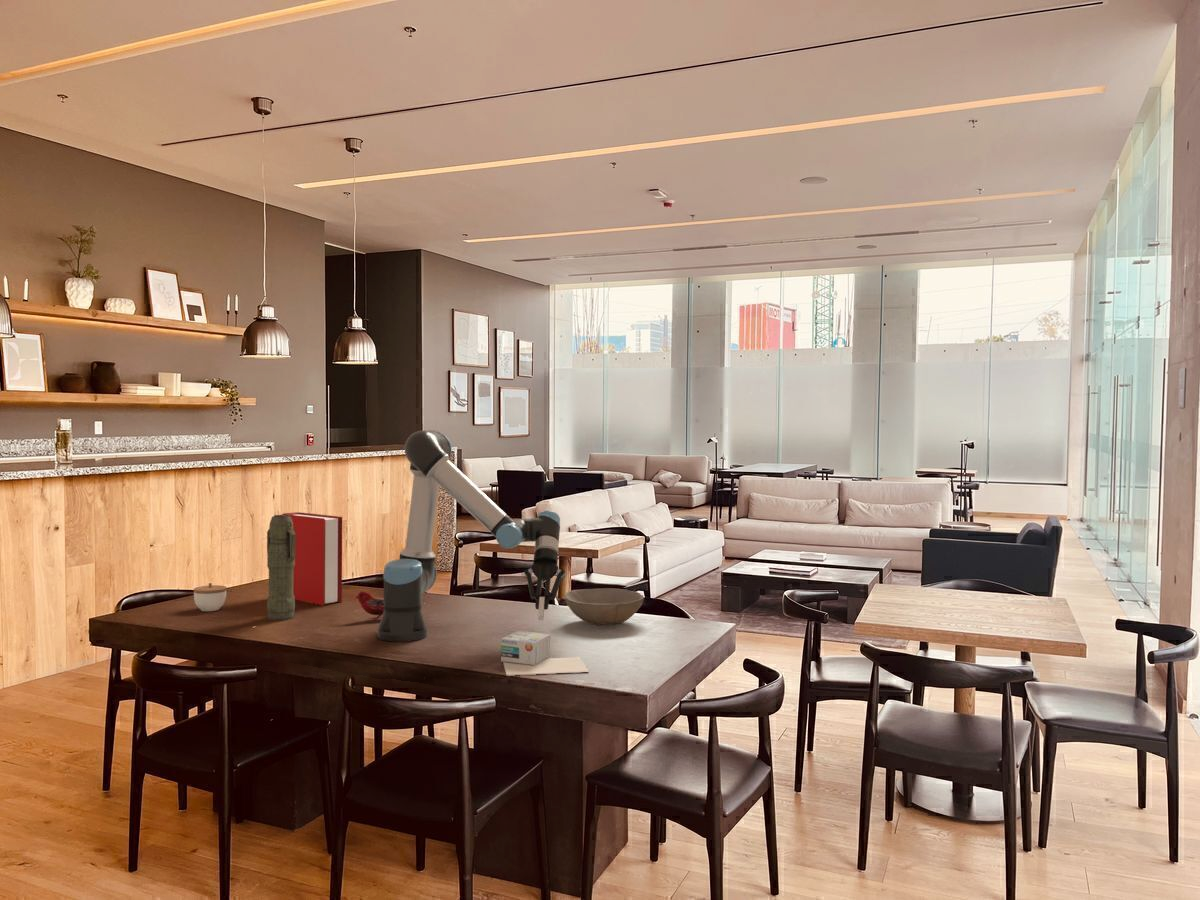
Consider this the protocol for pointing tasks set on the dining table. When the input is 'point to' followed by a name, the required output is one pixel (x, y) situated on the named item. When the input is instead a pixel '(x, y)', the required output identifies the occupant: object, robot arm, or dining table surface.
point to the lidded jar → (210, 597)
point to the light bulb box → (525, 647)
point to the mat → (546, 667)
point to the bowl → (604, 605)
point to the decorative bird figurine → (371, 604)
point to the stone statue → (281, 567)
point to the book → (317, 558)
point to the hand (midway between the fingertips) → (540, 617)
